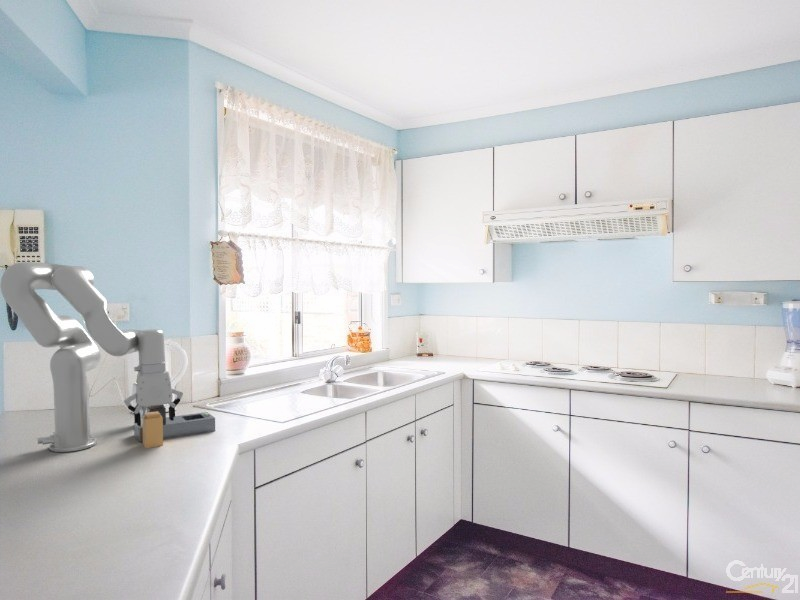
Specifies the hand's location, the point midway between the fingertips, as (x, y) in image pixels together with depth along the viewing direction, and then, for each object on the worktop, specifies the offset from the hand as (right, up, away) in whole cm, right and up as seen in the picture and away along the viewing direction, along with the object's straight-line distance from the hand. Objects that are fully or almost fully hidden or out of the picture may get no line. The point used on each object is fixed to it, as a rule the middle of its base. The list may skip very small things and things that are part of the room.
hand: (155, 422), depth 177 cm
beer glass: (-15, -6, +24) cm, 28 cm away
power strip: (+1, -7, +14) cm, 15 cm away
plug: (-1, -7, 0) cm, 7 cm away
